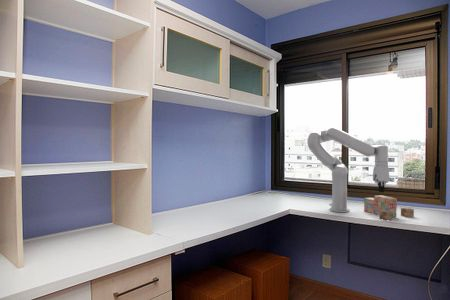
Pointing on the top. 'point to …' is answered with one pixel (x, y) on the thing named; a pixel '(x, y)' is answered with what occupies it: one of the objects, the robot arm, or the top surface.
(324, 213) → the top surface
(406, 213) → the marked walnut cube
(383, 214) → the marked walnut cube
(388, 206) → the stack of blocks
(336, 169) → the robot arm
